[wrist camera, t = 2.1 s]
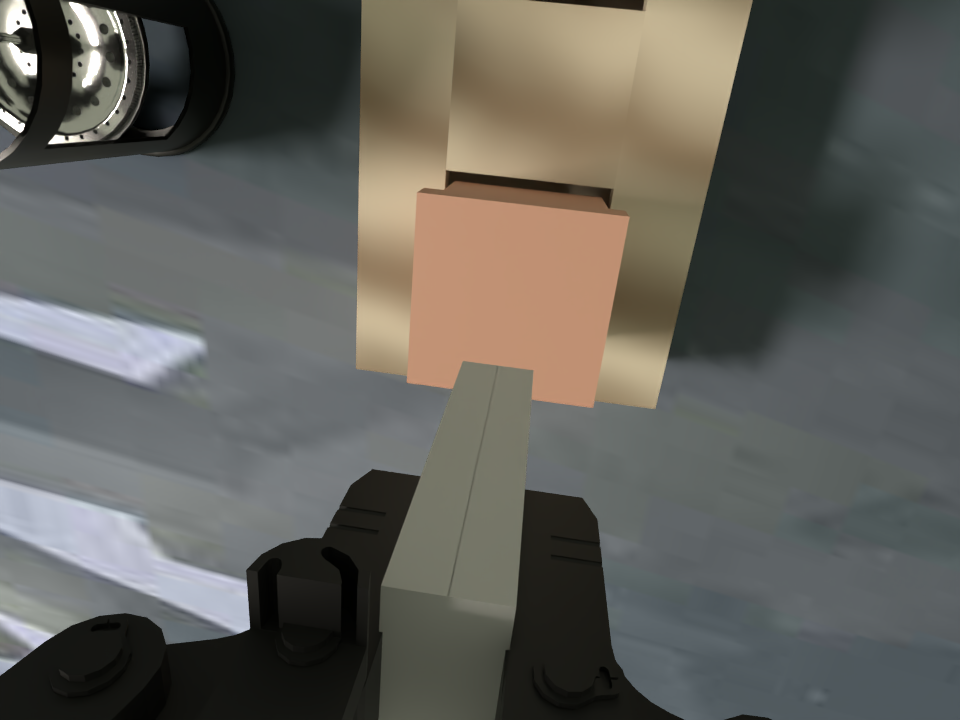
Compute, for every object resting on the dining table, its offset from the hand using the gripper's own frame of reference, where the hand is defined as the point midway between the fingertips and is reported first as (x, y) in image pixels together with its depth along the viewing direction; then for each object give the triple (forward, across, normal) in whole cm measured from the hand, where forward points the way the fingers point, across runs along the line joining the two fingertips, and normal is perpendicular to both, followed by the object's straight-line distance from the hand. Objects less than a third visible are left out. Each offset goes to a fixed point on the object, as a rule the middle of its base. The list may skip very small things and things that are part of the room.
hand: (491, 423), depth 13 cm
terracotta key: (+14, 0, 0) cm, 14 cm away
